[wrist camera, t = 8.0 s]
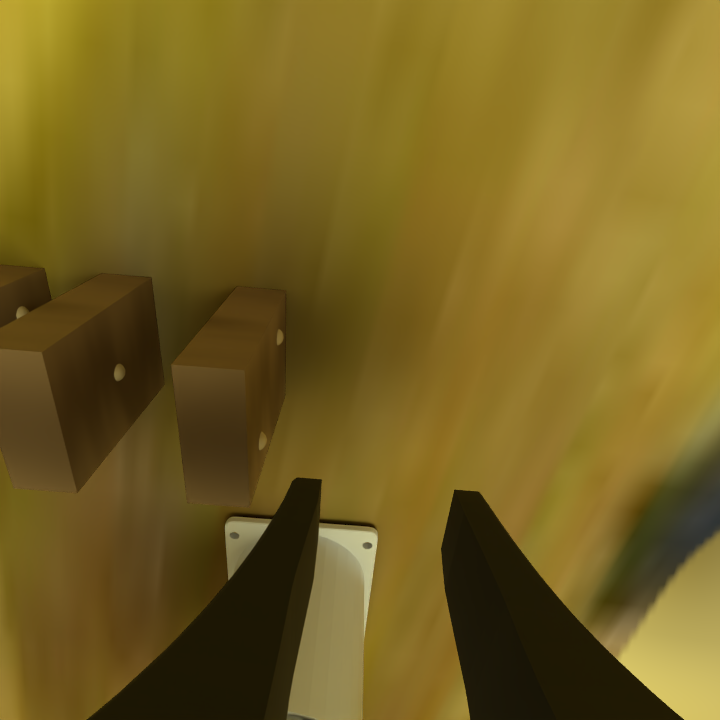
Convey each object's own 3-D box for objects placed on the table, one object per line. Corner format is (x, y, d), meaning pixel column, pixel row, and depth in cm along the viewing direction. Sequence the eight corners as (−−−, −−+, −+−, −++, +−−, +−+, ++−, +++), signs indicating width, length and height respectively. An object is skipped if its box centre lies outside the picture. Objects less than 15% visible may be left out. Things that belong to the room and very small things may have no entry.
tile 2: (169, 384, 21) (83, 493, 15) (120, 380, 21) (13, 488, 15) (156, 277, 19) (49, 352, 13) (101, 273, 19) (-34, 346, 12)
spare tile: (289, 395, 21) (255, 507, 15) (241, 392, 21) (187, 503, 15) (290, 290, 19) (251, 370, 13) (237, 286, 19) (170, 364, 13)
